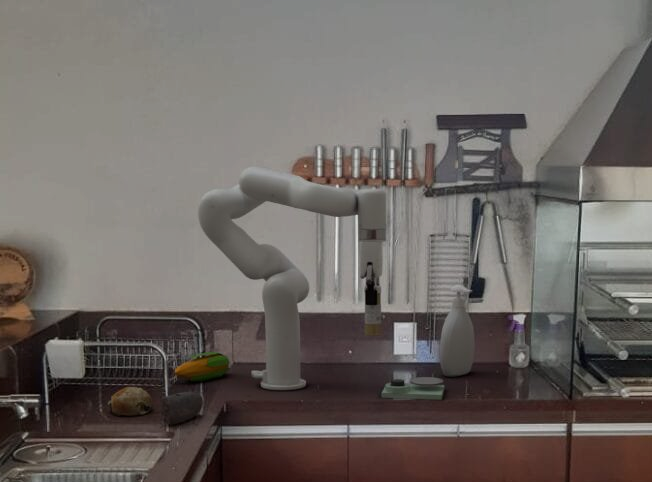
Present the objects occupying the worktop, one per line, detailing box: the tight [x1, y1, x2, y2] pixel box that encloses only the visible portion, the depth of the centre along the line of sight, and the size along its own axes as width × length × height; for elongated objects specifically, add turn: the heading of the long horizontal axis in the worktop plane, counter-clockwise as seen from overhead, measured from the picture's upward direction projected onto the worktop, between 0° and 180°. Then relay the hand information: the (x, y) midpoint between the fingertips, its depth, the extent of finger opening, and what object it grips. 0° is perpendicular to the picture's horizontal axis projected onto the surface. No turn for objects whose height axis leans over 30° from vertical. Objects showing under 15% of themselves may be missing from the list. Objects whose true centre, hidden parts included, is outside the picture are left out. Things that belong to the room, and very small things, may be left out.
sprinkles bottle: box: [363, 285, 382, 337], centre depth 242 cm, size 5×5×13 cm
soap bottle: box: [439, 284, 475, 378], centre depth 267 cm, size 14×8×27 cm, turn 137°
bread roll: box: [107, 386, 154, 417], centre depth 221 cm, size 10×10×8 cm
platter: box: [410, 376, 444, 386], centre depth 244 cm, size 9×9×1 cm
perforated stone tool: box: [159, 391, 204, 426], centre depth 213 cm, size 15×5×7 cm, turn 155°
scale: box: [380, 382, 445, 401], centre depth 243 cm, size 16×12×3 cm
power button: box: [390, 378, 405, 387], centre depth 241 cm, size 4×4×2 cm
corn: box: [173, 351, 231, 382], centre depth 259 cm, size 7×8×20 cm
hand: (372, 303), depth 242 cm, fingers closed on sprinkles bottle, 4 cm apart
